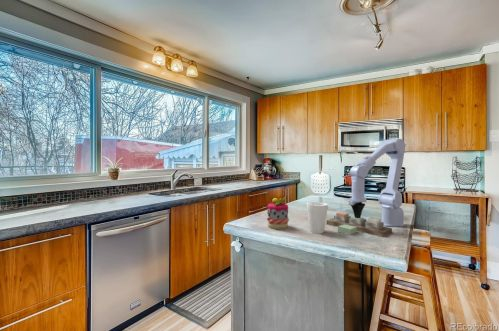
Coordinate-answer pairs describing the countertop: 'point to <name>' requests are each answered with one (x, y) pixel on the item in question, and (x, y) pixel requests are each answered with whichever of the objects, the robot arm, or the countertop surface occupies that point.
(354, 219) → the sage button
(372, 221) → the cream button
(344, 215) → the terracotta button
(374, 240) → the countertop surface
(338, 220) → the button console
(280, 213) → the cake
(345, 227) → the block
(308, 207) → the foam cup
